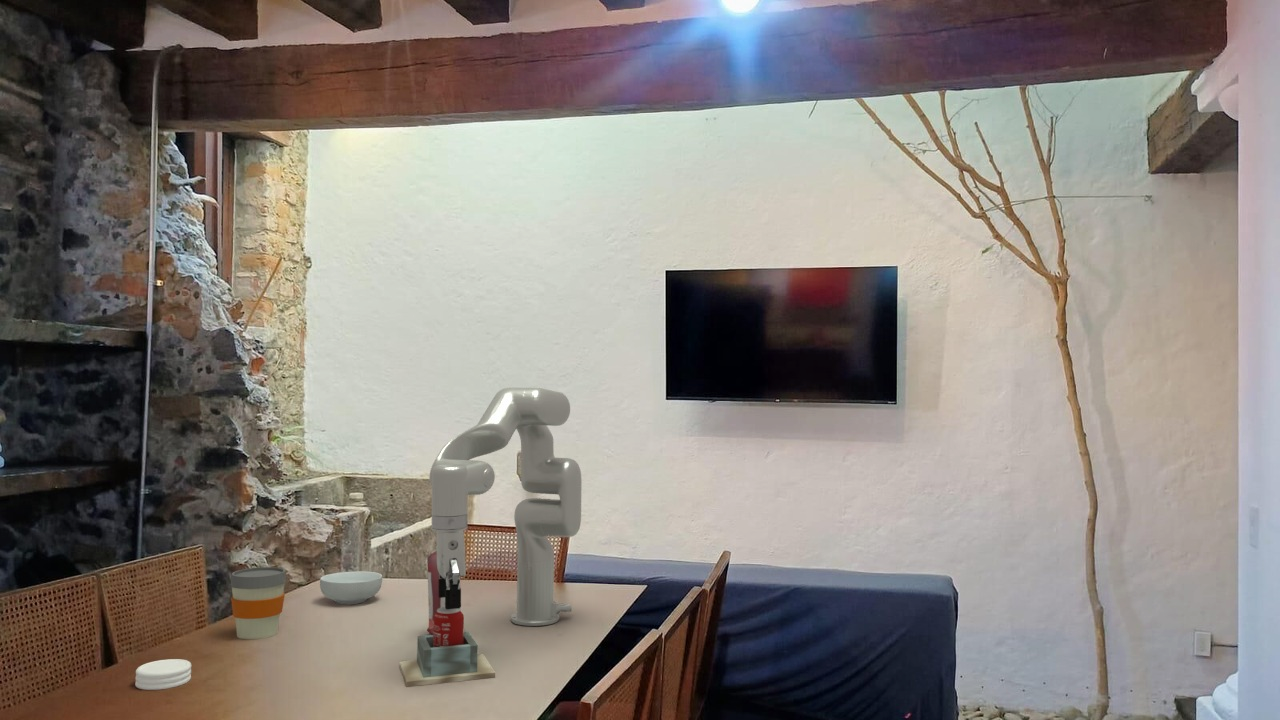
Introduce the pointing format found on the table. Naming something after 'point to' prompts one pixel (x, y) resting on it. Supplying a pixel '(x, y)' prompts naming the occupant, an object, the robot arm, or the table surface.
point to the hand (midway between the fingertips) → (449, 602)
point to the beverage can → (448, 627)
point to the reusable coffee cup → (257, 601)
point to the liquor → (433, 590)
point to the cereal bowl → (350, 586)
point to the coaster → (163, 674)
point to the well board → (445, 663)
